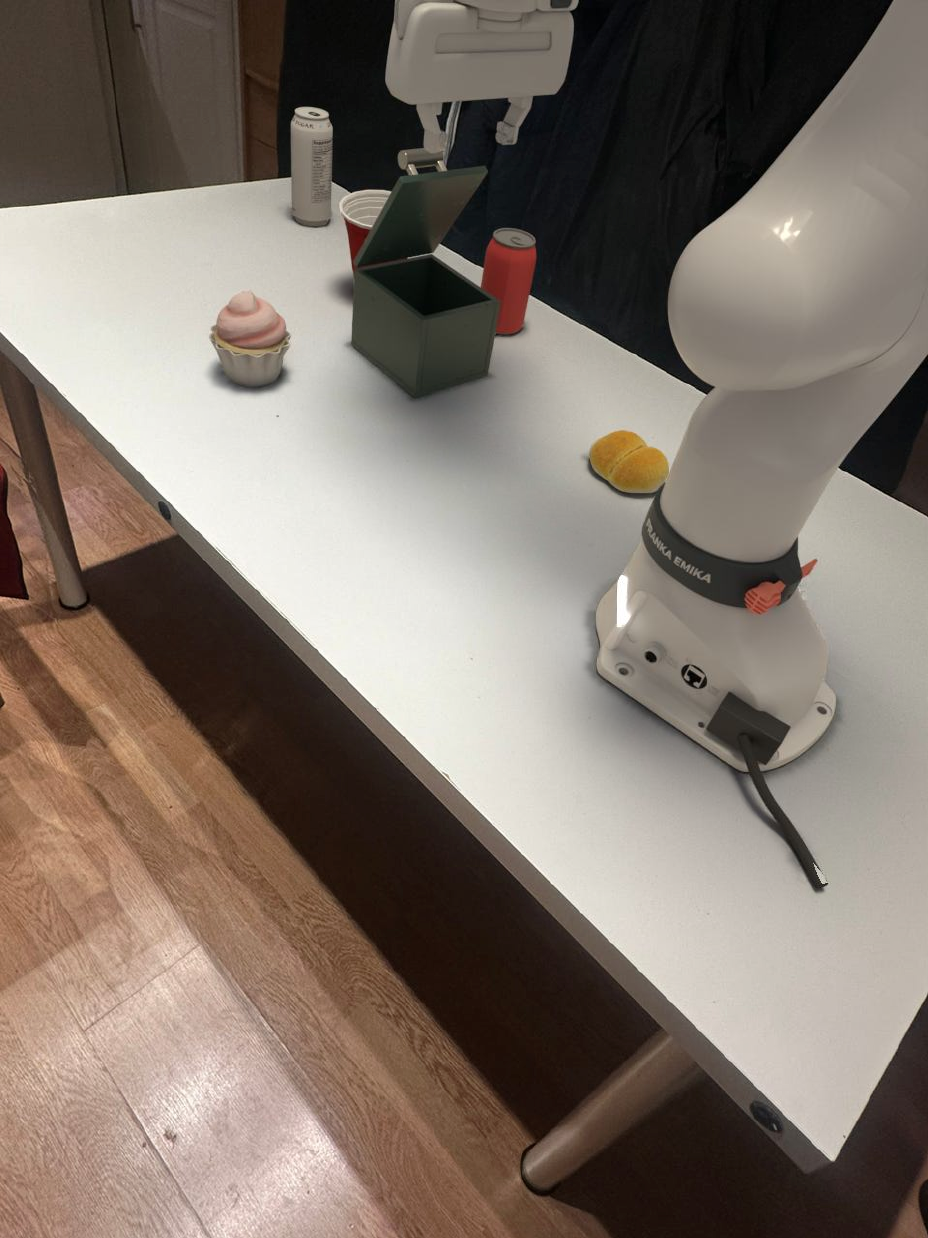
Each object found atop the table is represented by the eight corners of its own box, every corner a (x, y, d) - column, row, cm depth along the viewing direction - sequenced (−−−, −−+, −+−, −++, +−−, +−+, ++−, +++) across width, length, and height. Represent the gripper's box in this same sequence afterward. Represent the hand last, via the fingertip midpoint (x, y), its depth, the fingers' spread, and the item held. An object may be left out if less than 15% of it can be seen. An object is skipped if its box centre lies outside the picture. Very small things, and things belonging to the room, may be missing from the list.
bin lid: (488, 171, 90) (467, 130, 91) (403, 183, 85) (381, 139, 85) (433, 252, 103) (415, 216, 103) (355, 267, 97) (336, 229, 97)
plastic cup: (321, 297, 112) (323, 205, 103) (359, 269, 119) (363, 181, 111) (393, 321, 110) (400, 229, 101) (426, 292, 117) (436, 204, 109)
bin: (487, 375, 104) (501, 301, 97) (414, 397, 98) (422, 320, 91) (423, 326, 110) (431, 253, 103) (350, 344, 104) (354, 268, 97)
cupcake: (301, 392, 95) (300, 309, 88) (218, 397, 92) (211, 312, 85) (284, 350, 101) (283, 270, 94) (206, 354, 98) (198, 271, 91)
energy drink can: (310, 208, 132) (310, 102, 121) (338, 221, 130) (341, 115, 119) (283, 217, 128) (281, 109, 117) (312, 230, 126) (313, 121, 116)
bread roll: (633, 506, 89) (644, 476, 86) (575, 462, 93) (584, 433, 90) (680, 482, 93) (692, 453, 91) (623, 442, 98) (632, 412, 95)
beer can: (491, 339, 110) (506, 249, 102) (466, 316, 114) (479, 227, 105) (531, 333, 113) (549, 245, 105) (506, 310, 117) (522, 223, 108)
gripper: (420, -17, 67) (406, 167, 77) (594, -13, 77) (562, 148, 87) (376, -35, 70) (368, 144, 80) (549, -29, 80) (523, 129, 90)
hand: (470, 146), depth 84 cm, fingers open, 8 cm apart
